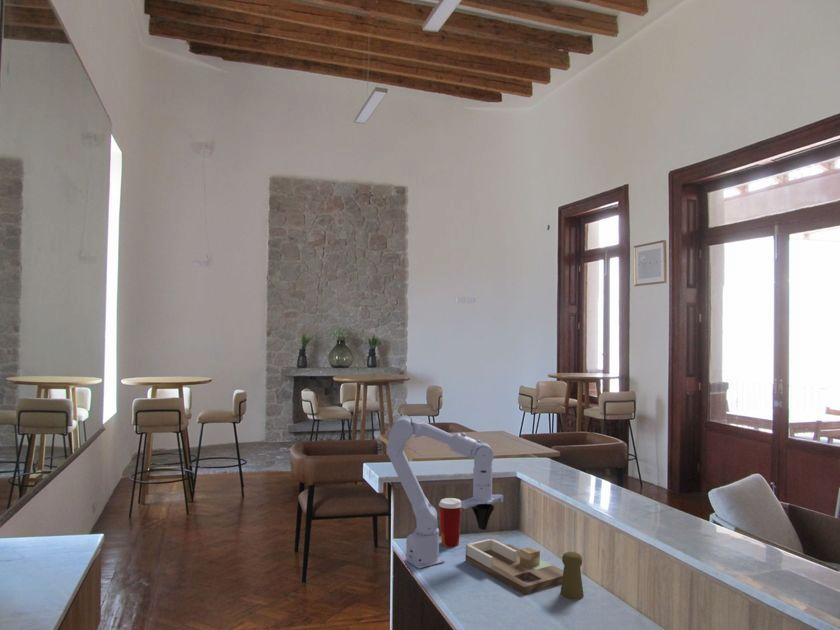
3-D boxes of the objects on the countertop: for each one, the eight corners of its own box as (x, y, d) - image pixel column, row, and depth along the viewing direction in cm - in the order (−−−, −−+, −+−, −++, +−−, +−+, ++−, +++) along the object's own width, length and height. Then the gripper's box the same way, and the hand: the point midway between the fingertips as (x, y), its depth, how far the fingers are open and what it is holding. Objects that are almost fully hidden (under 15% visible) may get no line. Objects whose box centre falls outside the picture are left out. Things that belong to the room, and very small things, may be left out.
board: (524, 594, 165) (524, 587, 165) (465, 560, 187) (465, 554, 187) (570, 580, 174) (570, 573, 174) (509, 550, 196) (509, 543, 196)
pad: (535, 576, 176) (535, 569, 176) (519, 568, 182) (519, 561, 182) (552, 572, 180) (552, 565, 180) (536, 563, 186) (536, 557, 186)
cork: (570, 601, 161) (571, 559, 161) (555, 592, 166) (555, 551, 166) (588, 597, 164) (588, 555, 164) (573, 588, 169) (573, 547, 169)
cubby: (490, 568, 177) (490, 557, 177) (465, 554, 187) (465, 544, 187) (517, 561, 182) (517, 550, 182) (491, 548, 193) (491, 538, 193)
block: (529, 567, 178) (529, 553, 178) (519, 562, 181) (520, 549, 181) (539, 564, 180) (539, 550, 180) (530, 560, 183) (530, 546, 183)
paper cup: (467, 543, 201) (467, 500, 201) (451, 550, 196) (452, 505, 196) (448, 537, 207) (448, 495, 207) (433, 543, 201) (433, 500, 201)
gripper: (471, 490, 180) (470, 537, 180) (509, 483, 187) (509, 528, 187) (457, 484, 186) (456, 529, 186) (495, 478, 193) (494, 521, 193)
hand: (482, 528), depth 187 cm, fingers closed
